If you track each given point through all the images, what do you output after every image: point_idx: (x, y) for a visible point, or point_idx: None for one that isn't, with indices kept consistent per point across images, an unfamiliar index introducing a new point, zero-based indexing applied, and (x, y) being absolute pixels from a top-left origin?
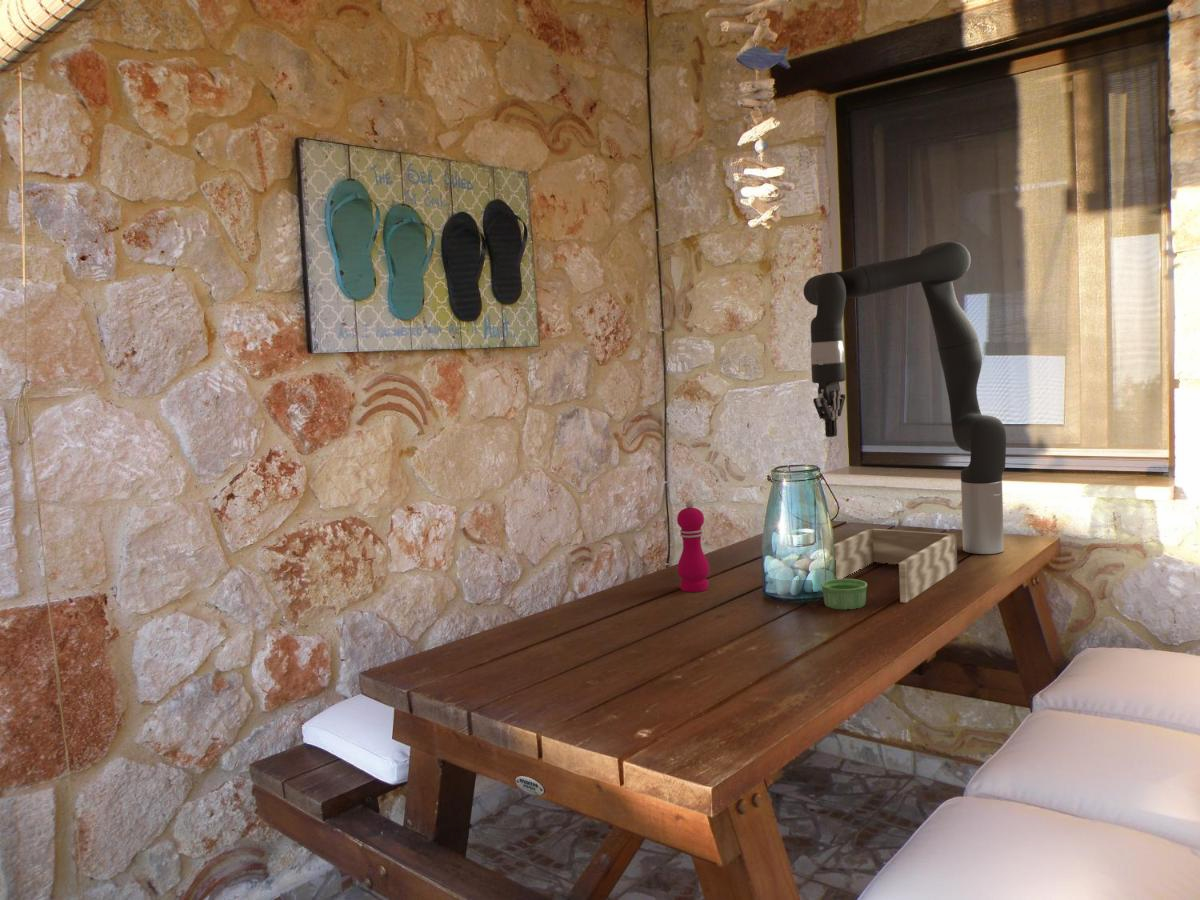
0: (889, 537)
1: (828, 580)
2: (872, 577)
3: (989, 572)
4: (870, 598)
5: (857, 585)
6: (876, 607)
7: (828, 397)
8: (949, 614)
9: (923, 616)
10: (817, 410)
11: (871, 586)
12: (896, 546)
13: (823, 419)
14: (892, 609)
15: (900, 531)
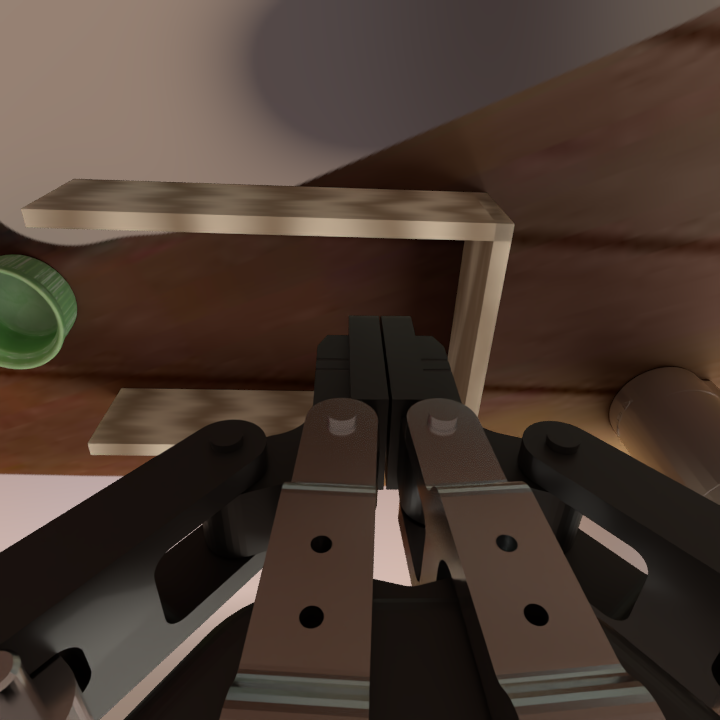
0: (478, 288)
1: (5, 273)
2: (299, 265)
3: None
4: (111, 328)
5: (57, 331)
6: (55, 361)
7: None
8: (100, 474)
9: (58, 446)
10: (61, 524)
11: (212, 294)
12: (469, 296)
13: (307, 414)
14: (63, 391)
15: (478, 330)
